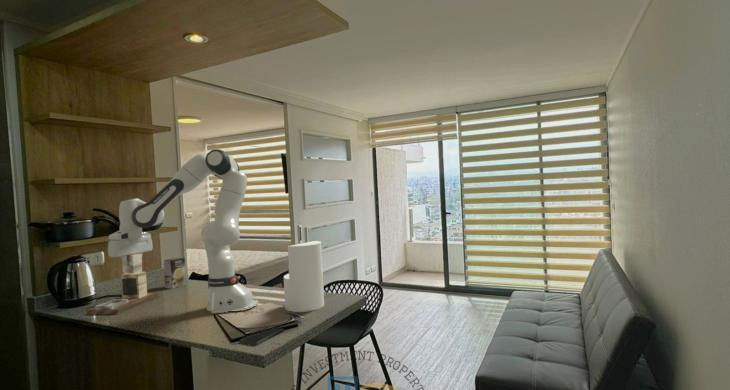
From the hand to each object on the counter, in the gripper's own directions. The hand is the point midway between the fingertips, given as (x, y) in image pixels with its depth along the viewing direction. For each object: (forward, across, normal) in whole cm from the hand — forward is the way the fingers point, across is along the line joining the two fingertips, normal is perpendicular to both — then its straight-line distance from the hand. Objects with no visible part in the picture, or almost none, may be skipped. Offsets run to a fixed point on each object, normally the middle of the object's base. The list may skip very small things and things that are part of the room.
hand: (132, 264), depth 174 cm
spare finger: (+4, 0, 0) cm, 4 cm away
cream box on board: (+22, -7, -14) cm, 27 cm away
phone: (+22, +15, +78) cm, 83 cm away
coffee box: (+21, -42, -18) cm, 50 cm away
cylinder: (+21, -21, +76) cm, 82 cm away
